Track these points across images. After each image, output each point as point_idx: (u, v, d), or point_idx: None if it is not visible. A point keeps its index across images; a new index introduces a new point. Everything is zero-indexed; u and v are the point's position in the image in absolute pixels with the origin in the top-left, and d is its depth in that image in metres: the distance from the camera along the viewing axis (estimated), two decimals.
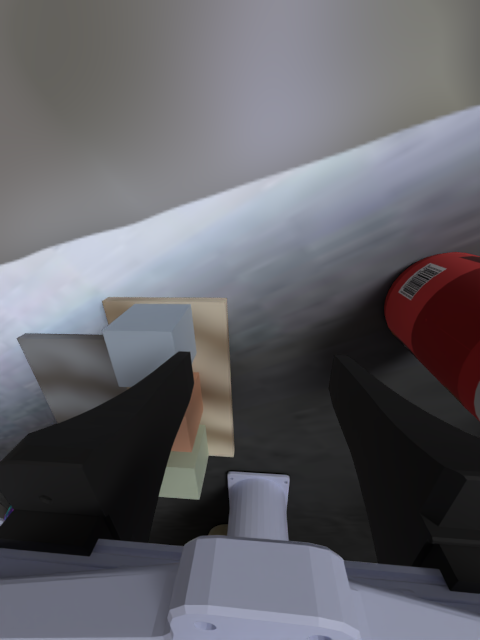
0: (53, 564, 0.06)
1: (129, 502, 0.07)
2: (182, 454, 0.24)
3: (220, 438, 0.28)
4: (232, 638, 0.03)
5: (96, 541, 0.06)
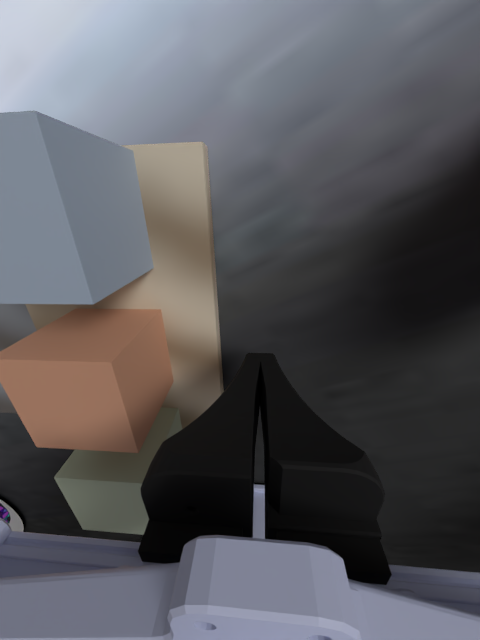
0: (53, 565, 0.06)
1: None
2: (130, 457, 0.13)
3: None
4: (232, 638, 0.03)
5: None
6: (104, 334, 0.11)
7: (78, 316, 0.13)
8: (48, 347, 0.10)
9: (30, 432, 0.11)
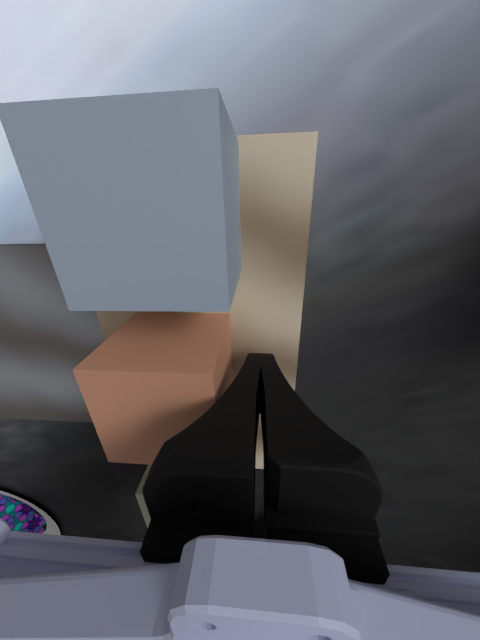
0: (53, 564, 0.06)
1: None
2: None
3: None
4: (232, 638, 0.03)
5: None
6: (186, 341, 0.10)
7: (145, 320, 0.12)
8: (132, 356, 0.09)
9: (103, 447, 0.10)
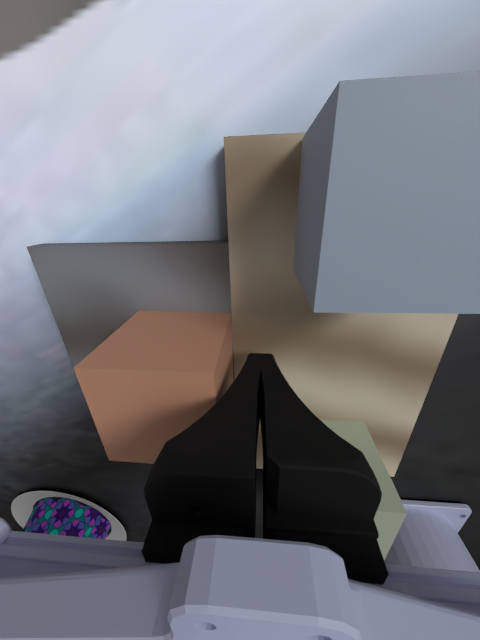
0: (53, 564, 0.06)
1: None
2: None
3: (383, 445, 0.16)
4: (232, 638, 0.03)
5: None
6: (187, 340, 0.10)
7: (146, 319, 0.12)
8: (133, 354, 0.09)
9: (104, 445, 0.10)
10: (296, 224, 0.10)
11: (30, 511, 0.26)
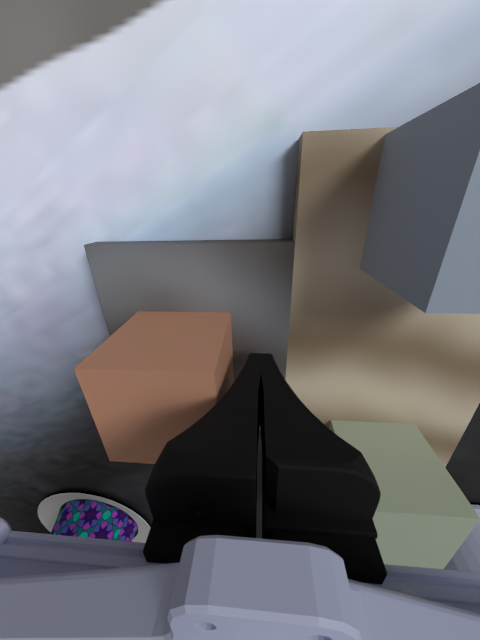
0: (53, 565, 0.06)
1: None
2: (423, 484, 0.12)
3: None
4: (232, 638, 0.03)
5: None
6: (187, 340, 0.10)
7: (146, 320, 0.12)
8: (134, 355, 0.09)
9: (105, 446, 0.10)
10: (369, 222, 0.10)
11: (56, 514, 0.25)
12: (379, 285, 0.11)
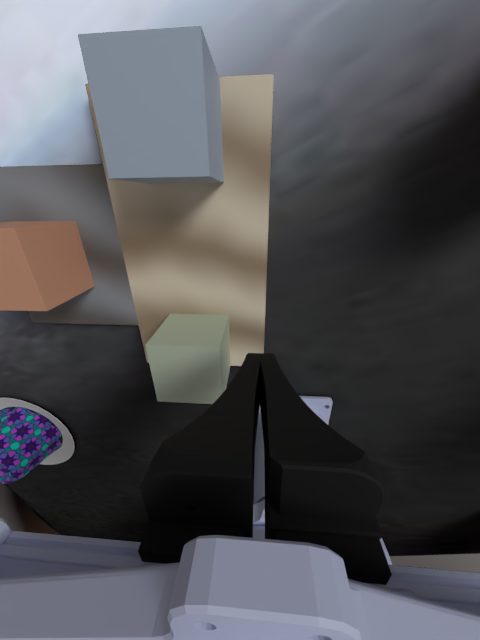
0: (53, 564, 0.06)
1: None
2: (200, 336, 0.17)
3: (248, 336, 0.21)
4: (232, 638, 0.03)
5: None
6: (22, 224, 0.15)
7: (10, 222, 0.17)
8: None
9: None
10: None
11: None
12: (167, 197, 0.17)
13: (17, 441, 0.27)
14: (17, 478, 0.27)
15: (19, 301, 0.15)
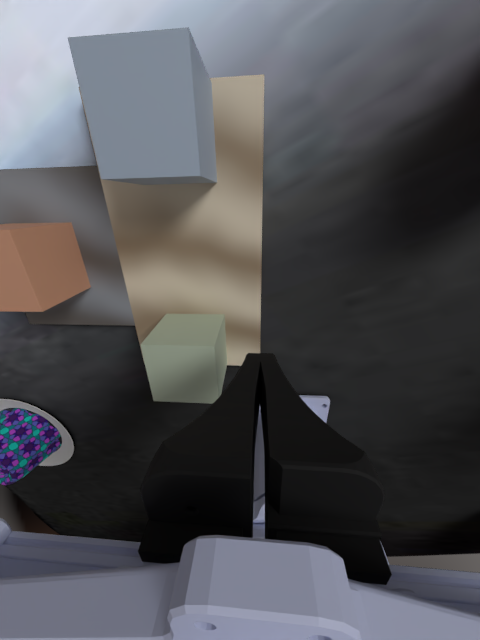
0: (53, 564, 0.06)
1: None
2: (195, 336, 0.17)
3: (244, 336, 0.21)
4: (232, 638, 0.03)
5: None
6: (17, 226, 0.16)
7: (7, 224, 0.17)
8: None
9: None
10: None
11: None
12: (161, 197, 0.17)
13: (16, 441, 0.27)
14: (17, 479, 0.27)
15: (15, 302, 0.16)
